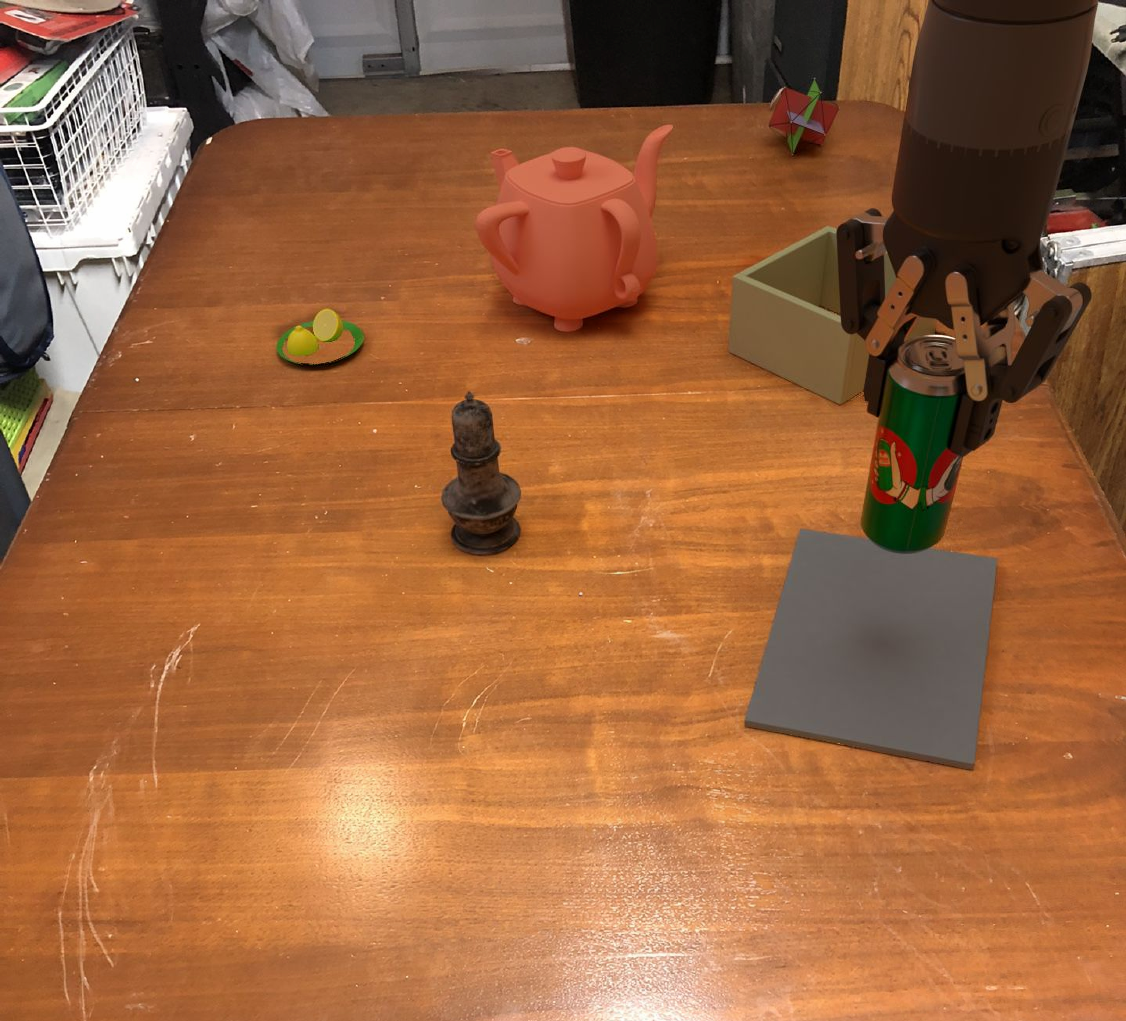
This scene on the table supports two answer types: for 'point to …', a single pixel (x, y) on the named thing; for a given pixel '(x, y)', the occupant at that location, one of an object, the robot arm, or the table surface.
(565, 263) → the teapot
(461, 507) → the salt shaker
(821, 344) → the bin
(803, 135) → the geometric puzzle
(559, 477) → the table surface
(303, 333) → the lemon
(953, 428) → the soda can
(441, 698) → the table surface
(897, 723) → the mat
